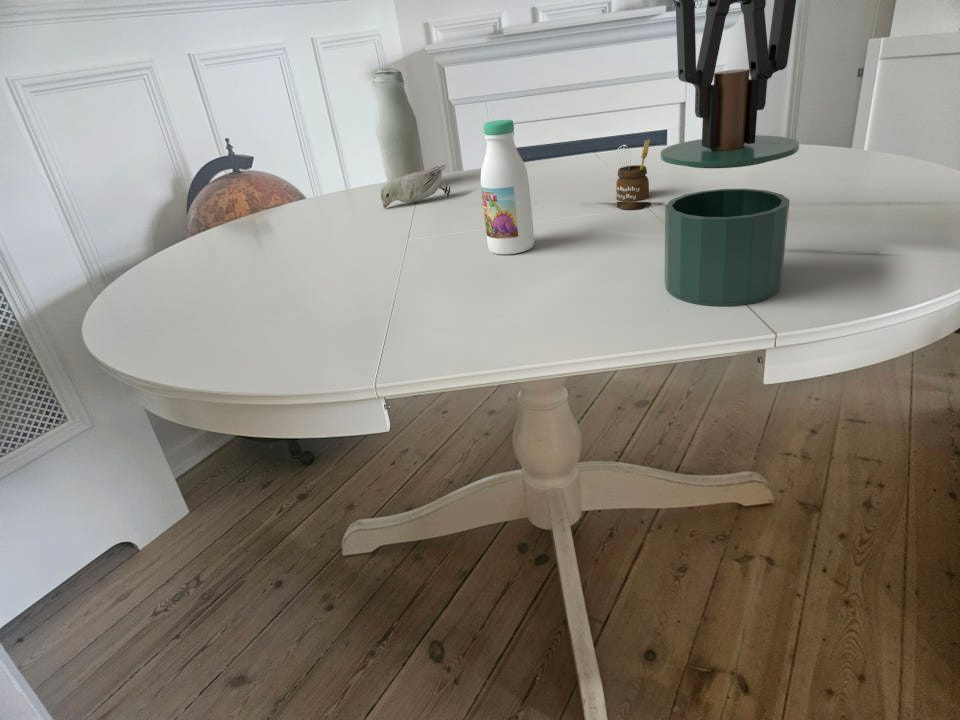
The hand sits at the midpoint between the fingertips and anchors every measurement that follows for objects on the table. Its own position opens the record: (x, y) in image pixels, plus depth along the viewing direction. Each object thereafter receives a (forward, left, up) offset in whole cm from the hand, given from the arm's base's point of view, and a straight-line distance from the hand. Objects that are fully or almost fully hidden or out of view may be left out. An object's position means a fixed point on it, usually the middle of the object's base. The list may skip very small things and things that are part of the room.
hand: (727, 143), depth 72 cm
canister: (0, 0, -17) cm, 17 cm away
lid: (0, 0, -1) cm, 1 cm away
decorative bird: (+73, -40, -17) cm, 85 cm away
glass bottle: (+84, -52, -17) cm, 100 cm away
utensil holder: (+22, -37, -17) cm, 46 cm away
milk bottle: (+35, -11, -17) cm, 41 cm away
